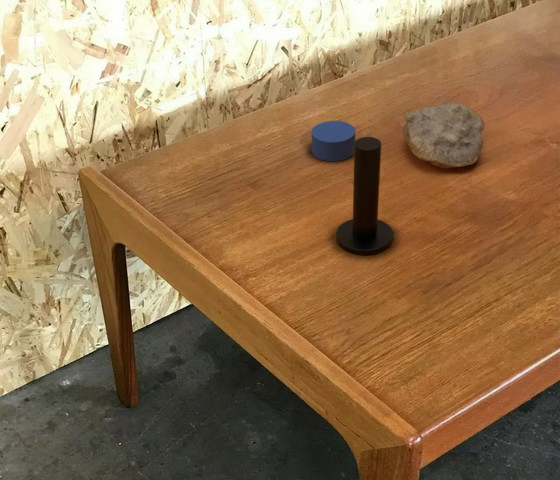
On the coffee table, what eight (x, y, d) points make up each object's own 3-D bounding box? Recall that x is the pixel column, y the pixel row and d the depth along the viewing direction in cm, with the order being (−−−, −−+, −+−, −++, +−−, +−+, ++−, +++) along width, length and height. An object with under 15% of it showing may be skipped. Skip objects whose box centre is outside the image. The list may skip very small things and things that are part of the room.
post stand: (393, 223, 101) (399, 128, 91) (392, 256, 96) (398, 159, 86) (338, 221, 101) (338, 127, 92) (334, 254, 96) (334, 158, 87)
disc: (355, 140, 116) (356, 120, 114) (353, 161, 112) (354, 142, 109) (313, 139, 117) (313, 120, 115) (309, 161, 112) (309, 141, 110)
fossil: (483, 174, 107) (434, 130, 102) (436, 199, 113) (388, 158, 108) (492, 111, 112) (446, 66, 108) (447, 137, 119) (401, 96, 114)
